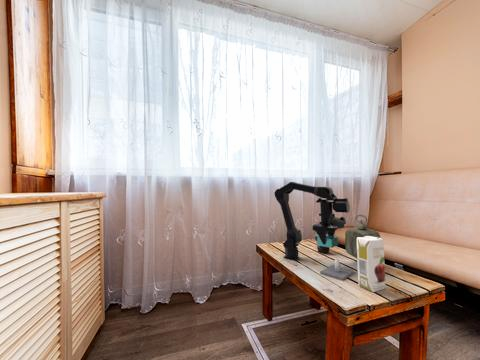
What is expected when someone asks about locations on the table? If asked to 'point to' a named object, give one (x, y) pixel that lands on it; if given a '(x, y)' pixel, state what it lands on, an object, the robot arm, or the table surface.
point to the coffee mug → (322, 248)
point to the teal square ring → (328, 241)
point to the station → (337, 271)
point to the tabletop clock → (352, 236)
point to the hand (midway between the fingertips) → (327, 243)
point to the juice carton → (371, 263)
